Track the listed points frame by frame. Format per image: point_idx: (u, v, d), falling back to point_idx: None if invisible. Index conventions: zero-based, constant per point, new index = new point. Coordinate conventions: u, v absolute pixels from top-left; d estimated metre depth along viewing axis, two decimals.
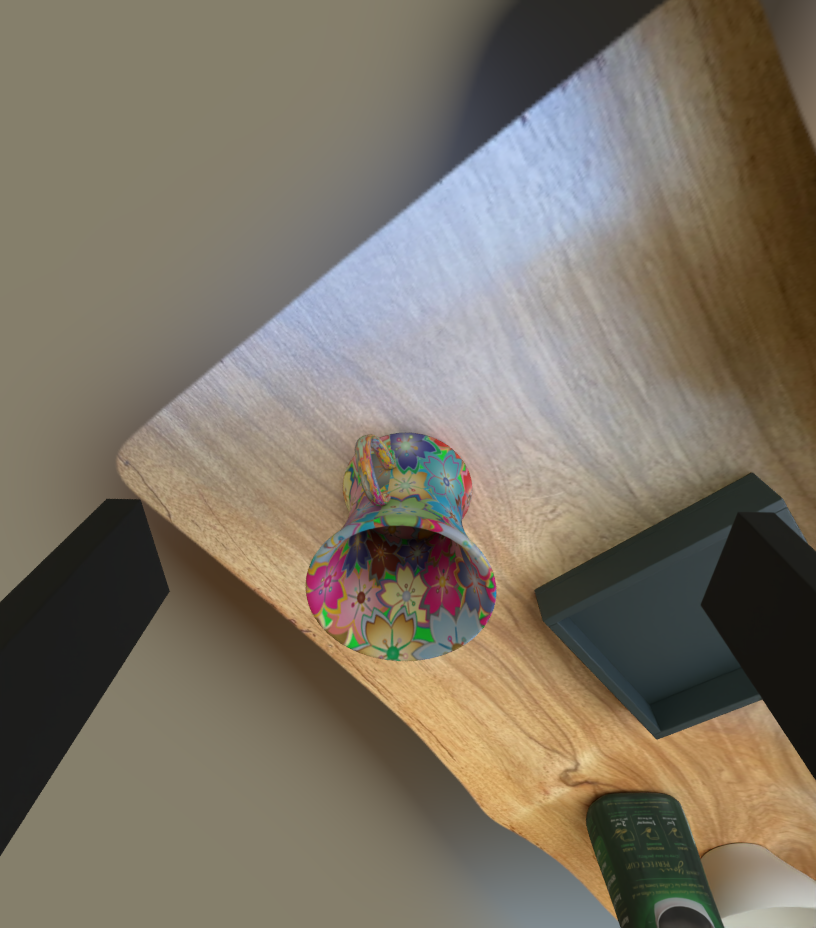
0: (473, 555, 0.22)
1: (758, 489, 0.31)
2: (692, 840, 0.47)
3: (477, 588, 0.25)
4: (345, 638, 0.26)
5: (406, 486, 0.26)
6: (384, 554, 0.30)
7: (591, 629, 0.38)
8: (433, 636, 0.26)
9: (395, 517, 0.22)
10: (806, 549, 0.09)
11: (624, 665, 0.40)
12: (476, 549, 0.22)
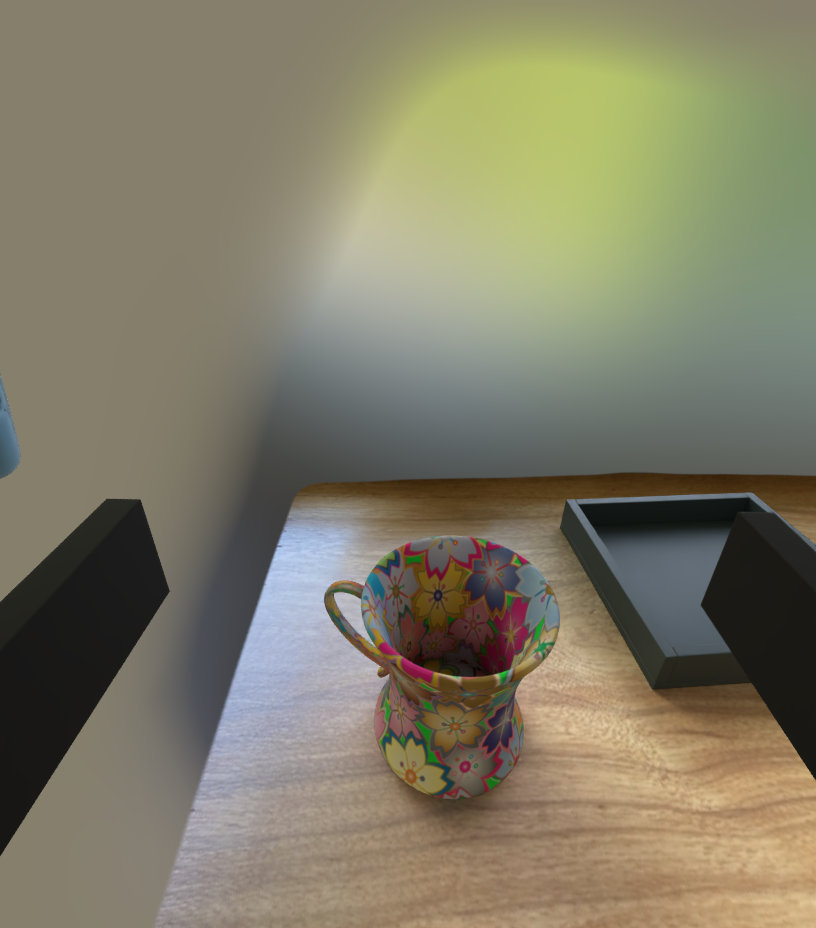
0: (447, 539, 0.27)
1: (565, 516, 0.44)
2: None
3: (496, 567, 0.26)
4: (490, 675, 0.20)
5: None
6: None
7: None
8: (541, 619, 0.23)
9: None
10: (806, 549, 0.09)
11: None
12: (443, 536, 0.27)
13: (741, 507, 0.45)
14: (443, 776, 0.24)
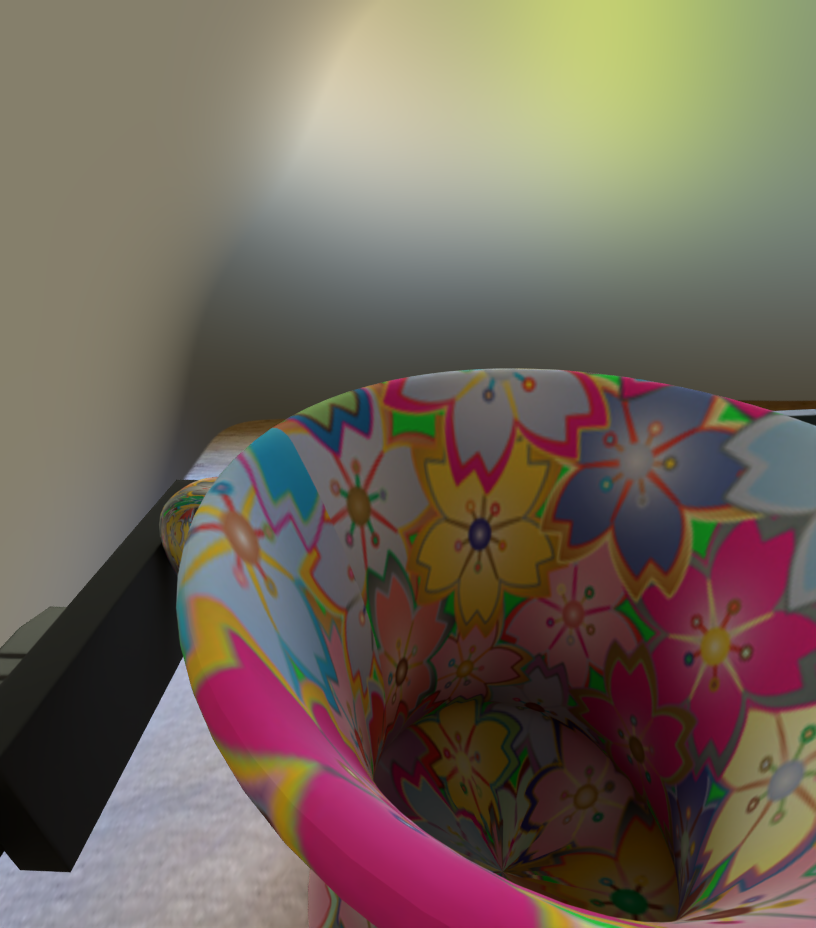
0: (507, 375, 0.10)
1: None
2: None
3: (653, 446, 0.09)
4: None
5: None
6: None
7: None
8: None
9: None
10: None
11: None
12: None
13: None
14: None
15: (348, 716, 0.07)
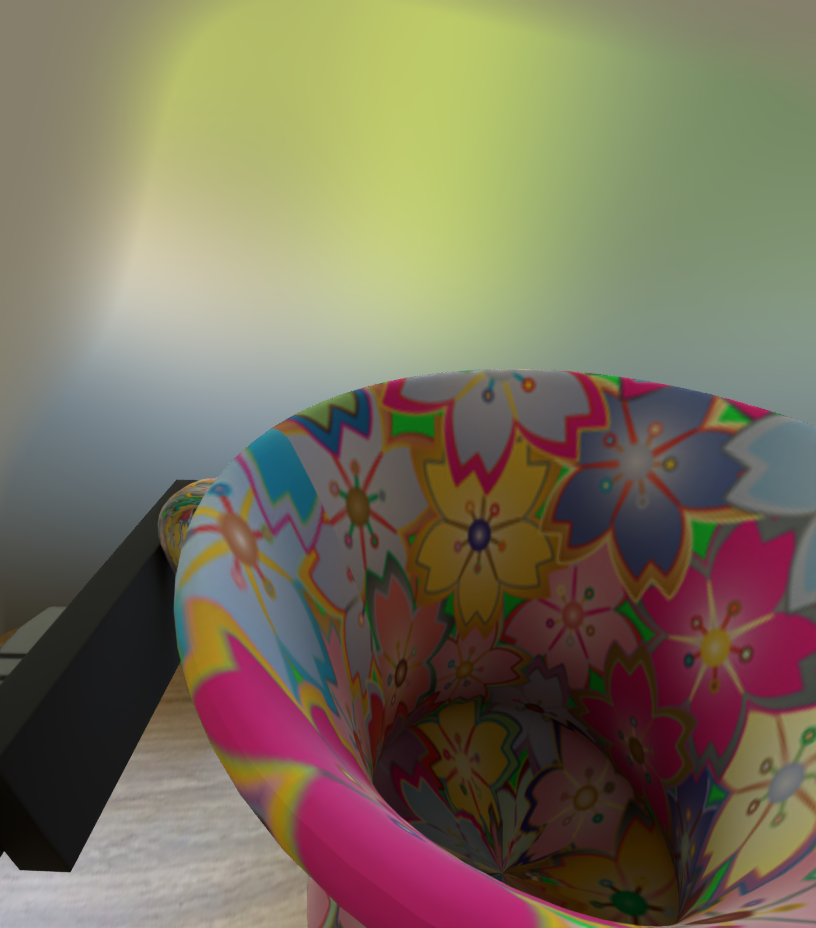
0: (506, 375, 0.10)
1: None
2: None
3: (653, 447, 0.09)
4: None
5: None
6: None
7: None
8: None
9: None
10: None
11: None
12: None
13: None
14: None
15: (347, 718, 0.07)
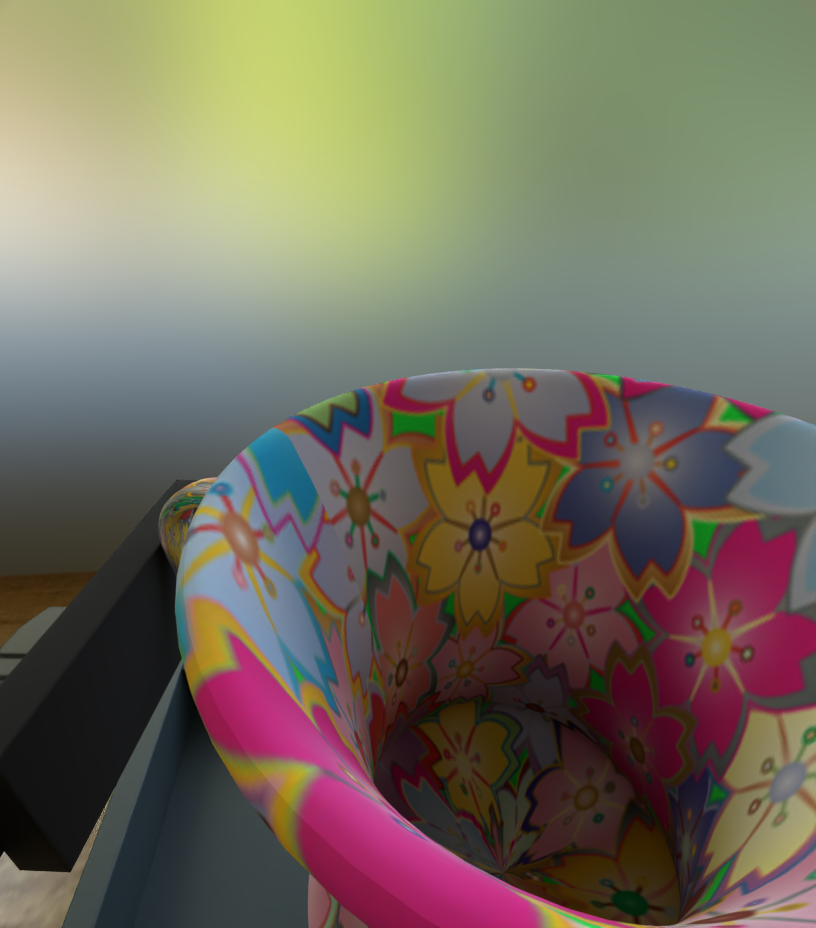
0: (507, 375, 0.10)
1: None
2: None
3: (654, 446, 0.09)
4: None
5: None
6: None
7: None
8: None
9: None
10: None
11: None
12: None
13: None
14: None
15: (348, 718, 0.07)
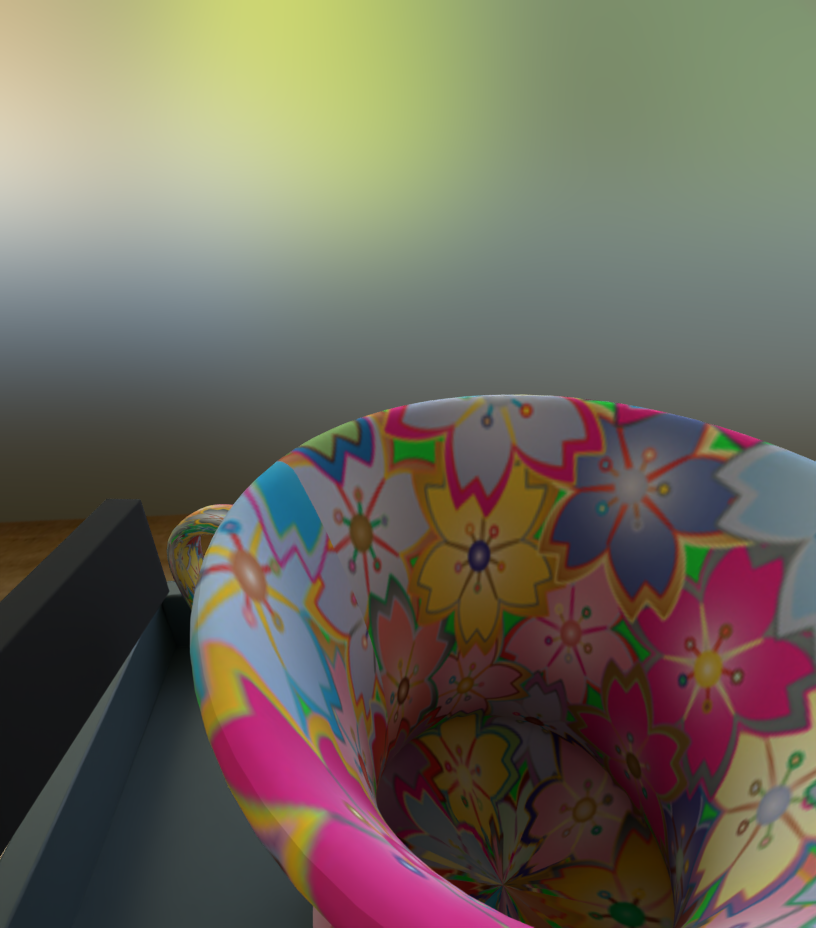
0: (505, 401, 0.10)
1: None
2: None
3: (648, 471, 0.09)
4: None
5: None
6: None
7: None
8: None
9: None
10: None
11: None
12: None
13: None
14: None
15: (352, 742, 0.07)
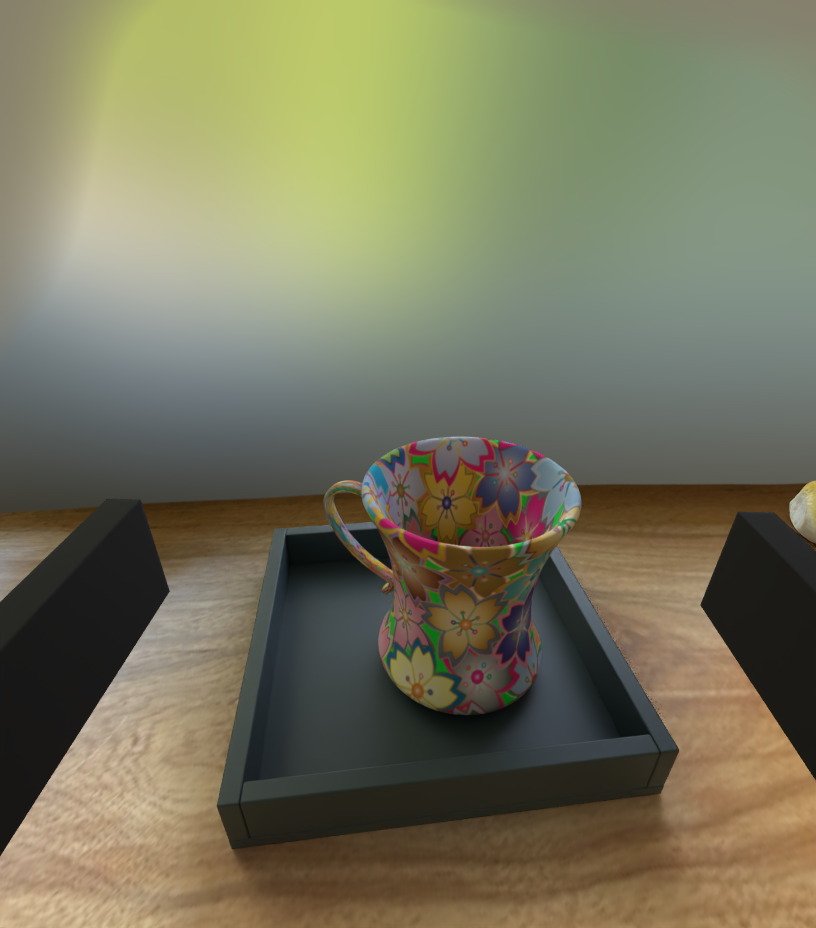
0: (456, 439, 0.25)
1: None
2: None
3: (510, 468, 0.24)
4: (503, 546, 0.18)
5: None
6: None
7: None
8: (560, 507, 0.21)
9: None
10: (806, 549, 0.09)
11: None
12: None
13: None
14: (453, 688, 0.22)
15: None
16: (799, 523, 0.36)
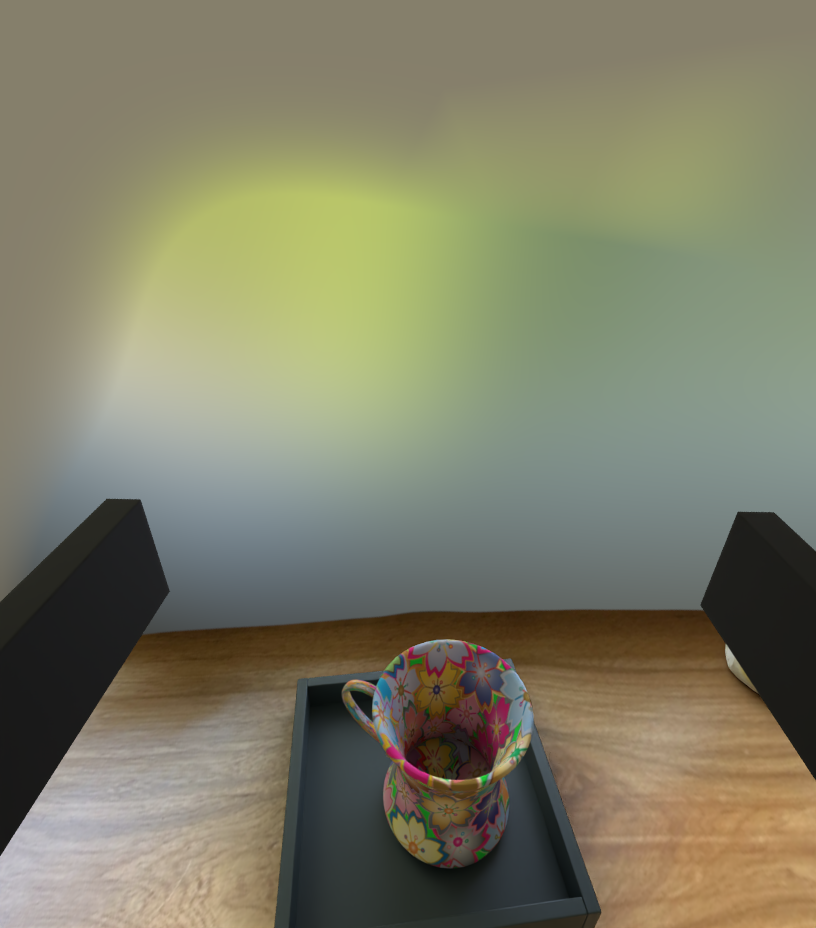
0: (444, 643, 0.32)
1: None
2: None
3: (485, 669, 0.32)
4: (473, 778, 0.25)
5: None
6: None
7: None
8: (519, 722, 0.28)
9: None
10: (806, 549, 0.09)
11: None
12: (440, 640, 0.33)
13: None
14: (440, 849, 0.29)
15: (401, 749, 0.29)
16: (730, 662, 0.43)
